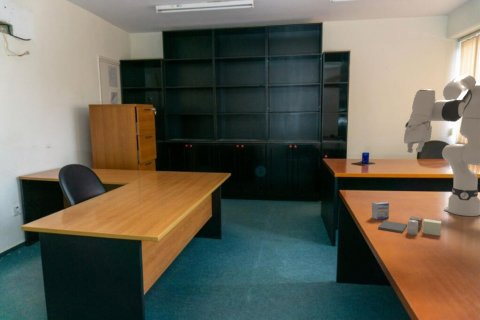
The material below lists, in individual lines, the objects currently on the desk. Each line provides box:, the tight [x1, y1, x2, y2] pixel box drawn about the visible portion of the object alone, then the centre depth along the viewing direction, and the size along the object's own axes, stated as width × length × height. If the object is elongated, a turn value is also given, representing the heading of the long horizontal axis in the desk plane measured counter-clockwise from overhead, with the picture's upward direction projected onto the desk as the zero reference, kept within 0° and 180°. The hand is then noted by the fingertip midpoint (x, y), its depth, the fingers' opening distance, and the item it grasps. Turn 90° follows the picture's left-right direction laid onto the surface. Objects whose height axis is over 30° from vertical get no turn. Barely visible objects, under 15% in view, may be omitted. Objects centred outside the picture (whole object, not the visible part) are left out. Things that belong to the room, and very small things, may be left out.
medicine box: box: [371, 201, 390, 221], centre depth 179 cm, size 8×4×9 cm, turn 105°
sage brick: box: [422, 218, 442, 237], centre depth 155 cm, size 4×7×6 cm, turn 54°
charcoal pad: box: [378, 220, 408, 234], centre depth 164 cm, size 12×11×1 cm
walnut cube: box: [409, 215, 424, 231], centre depth 163 cm, size 5×5×5 cm
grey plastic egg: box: [406, 219, 419, 236], centre depth 155 cm, size 4×4×6 cm
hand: (413, 152), depth 152 cm, fingers open, 8 cm apart
